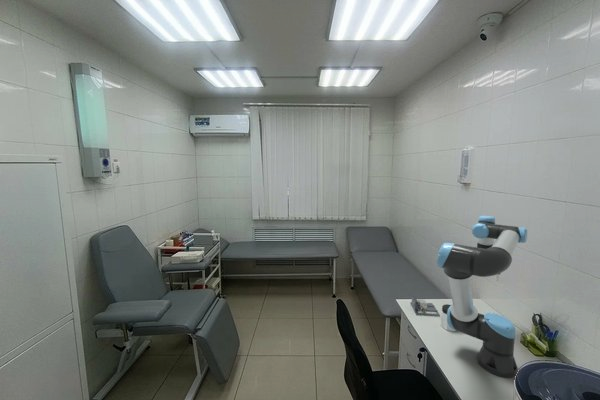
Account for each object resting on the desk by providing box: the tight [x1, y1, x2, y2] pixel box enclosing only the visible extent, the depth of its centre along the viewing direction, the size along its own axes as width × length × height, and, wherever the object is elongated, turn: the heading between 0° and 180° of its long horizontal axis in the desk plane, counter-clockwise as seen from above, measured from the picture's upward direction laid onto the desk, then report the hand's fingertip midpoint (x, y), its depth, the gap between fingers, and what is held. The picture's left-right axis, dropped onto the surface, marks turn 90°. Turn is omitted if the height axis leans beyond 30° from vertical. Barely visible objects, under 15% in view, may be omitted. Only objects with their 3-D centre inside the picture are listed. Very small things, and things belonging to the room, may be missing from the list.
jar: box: [440, 304, 457, 332], centre depth 155 cm, size 9×8×12 cm
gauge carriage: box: [417, 298, 428, 312], centre depth 172 cm, size 8×4×4 cm, turn 171°
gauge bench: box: [410, 295, 441, 317], centre depth 174 cm, size 14×14×7 cm
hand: (483, 279), depth 152 cm, fingers open, 13 cm apart
